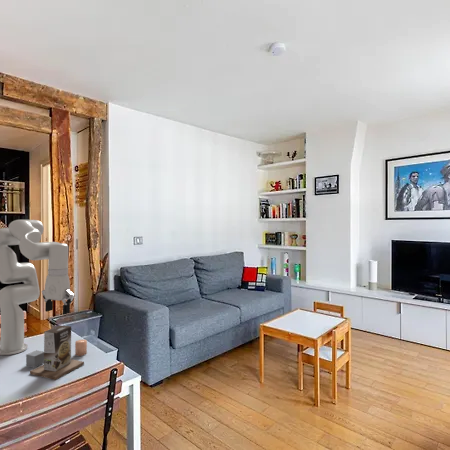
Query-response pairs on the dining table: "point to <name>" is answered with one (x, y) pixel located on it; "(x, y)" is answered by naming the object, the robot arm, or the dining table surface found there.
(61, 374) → the walnut board
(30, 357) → the grey block
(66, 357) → the coffee box
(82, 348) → the terracotta cylinder
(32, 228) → the robot arm
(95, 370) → the dining table surface
